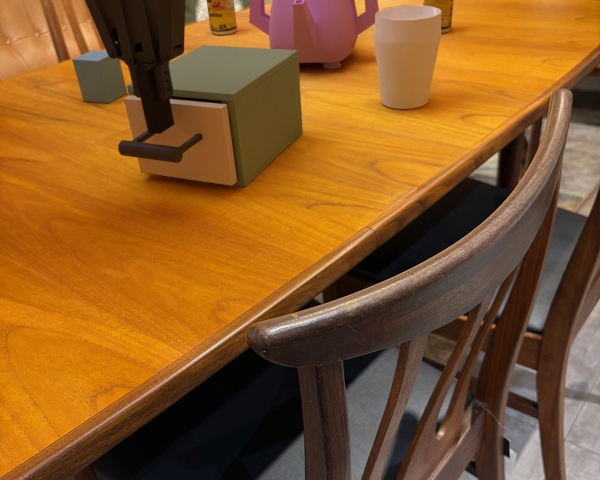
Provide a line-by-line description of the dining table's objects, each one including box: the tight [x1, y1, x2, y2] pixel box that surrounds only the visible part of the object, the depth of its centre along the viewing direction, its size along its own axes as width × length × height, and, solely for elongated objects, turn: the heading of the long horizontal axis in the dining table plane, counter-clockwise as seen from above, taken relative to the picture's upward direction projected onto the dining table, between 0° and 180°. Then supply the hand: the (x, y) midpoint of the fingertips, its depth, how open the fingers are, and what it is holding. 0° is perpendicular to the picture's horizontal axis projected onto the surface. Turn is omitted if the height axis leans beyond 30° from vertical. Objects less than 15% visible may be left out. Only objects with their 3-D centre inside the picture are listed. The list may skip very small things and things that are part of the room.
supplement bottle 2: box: [422, 0, 455, 34], centre depth 116 cm, size 6×6×10 cm
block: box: [72, 49, 128, 104], centre depth 97 cm, size 5×5×6 cm
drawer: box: [117, 95, 237, 187], centre depth 71 cm, size 21×12×9 cm, turn 156°
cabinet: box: [126, 44, 304, 188], centre depth 75 cm, size 17×14×11 cm
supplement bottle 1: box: [206, 0, 238, 36], centre depth 126 cm, size 6×6×10 cm
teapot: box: [248, 0, 380, 70], centre depth 104 cm, size 19×18×15 cm
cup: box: [373, 4, 442, 110], centre depth 85 cm, size 9×9×12 cm
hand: (161, 128), depth 64 cm, fingers closed
